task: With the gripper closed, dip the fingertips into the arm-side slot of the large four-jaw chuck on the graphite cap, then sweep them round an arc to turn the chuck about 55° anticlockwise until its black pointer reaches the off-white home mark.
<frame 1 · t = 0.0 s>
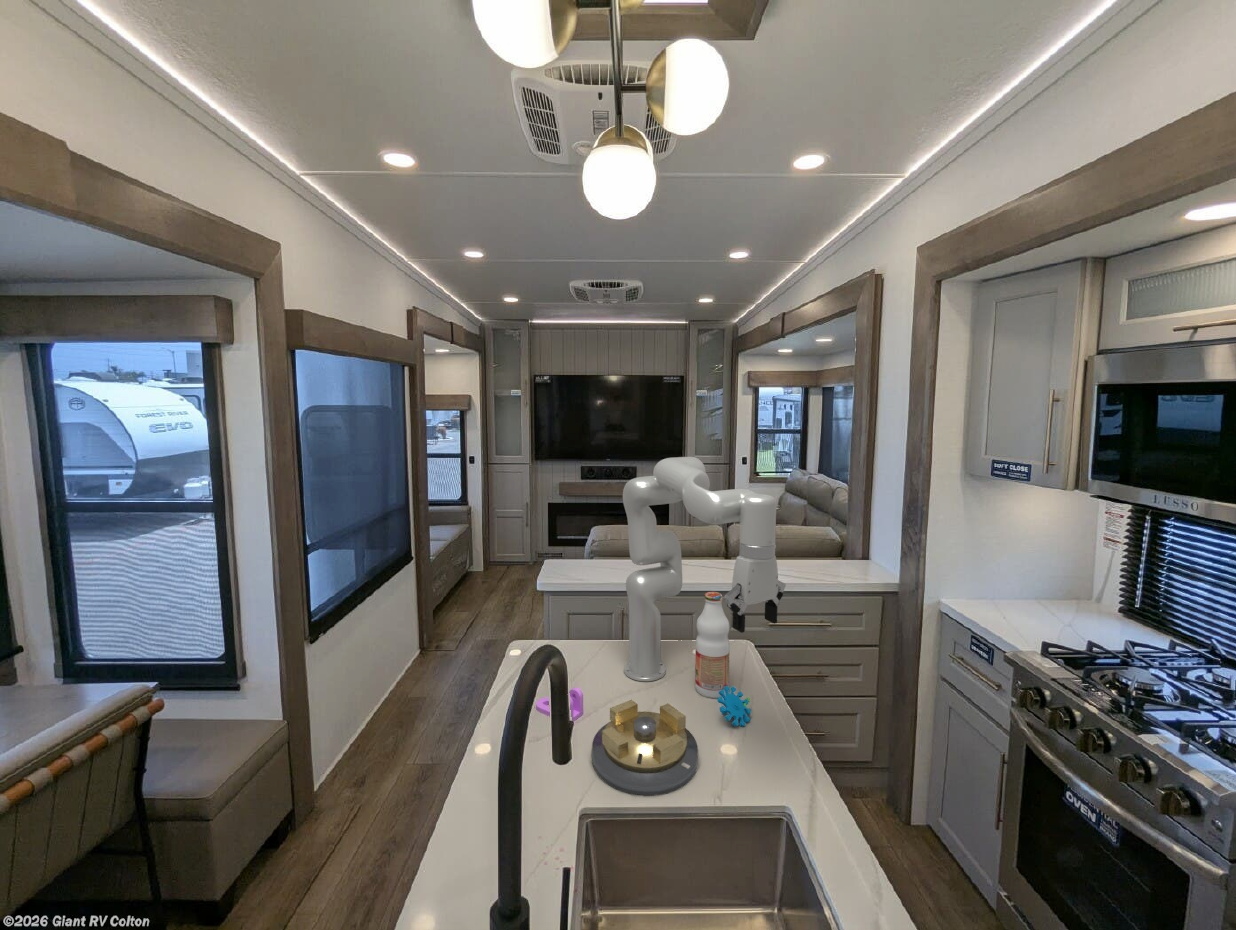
hand: (754, 625, 116), 31 cm above the worktop, tool pointing down, fingers open, 9 cm apart
fruit juice: (711, 690, 148), on the worktop
gear: (735, 719, 134), on the worktop
cap flange: (644, 757, 119), on the worktop
bracket: (557, 712, 137), on the worktop
four-jaw chuck: (644, 733, 119), point 6 cm above the worktop, hinge at 0.0°
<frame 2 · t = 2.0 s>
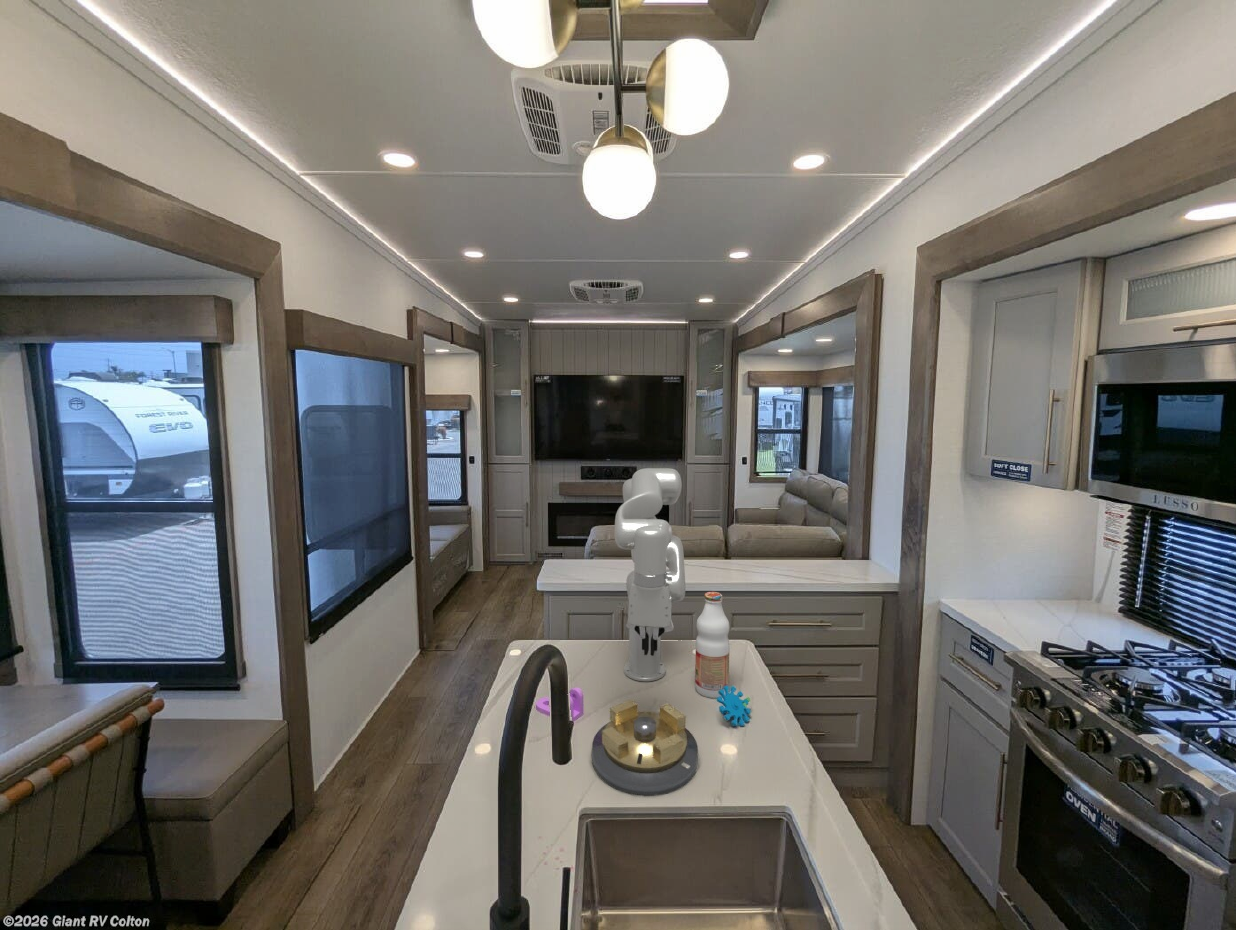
hand: (649, 652, 125), 21 cm above the worktop, tool pointing down, fingers closed
nothing on the worktop moved.
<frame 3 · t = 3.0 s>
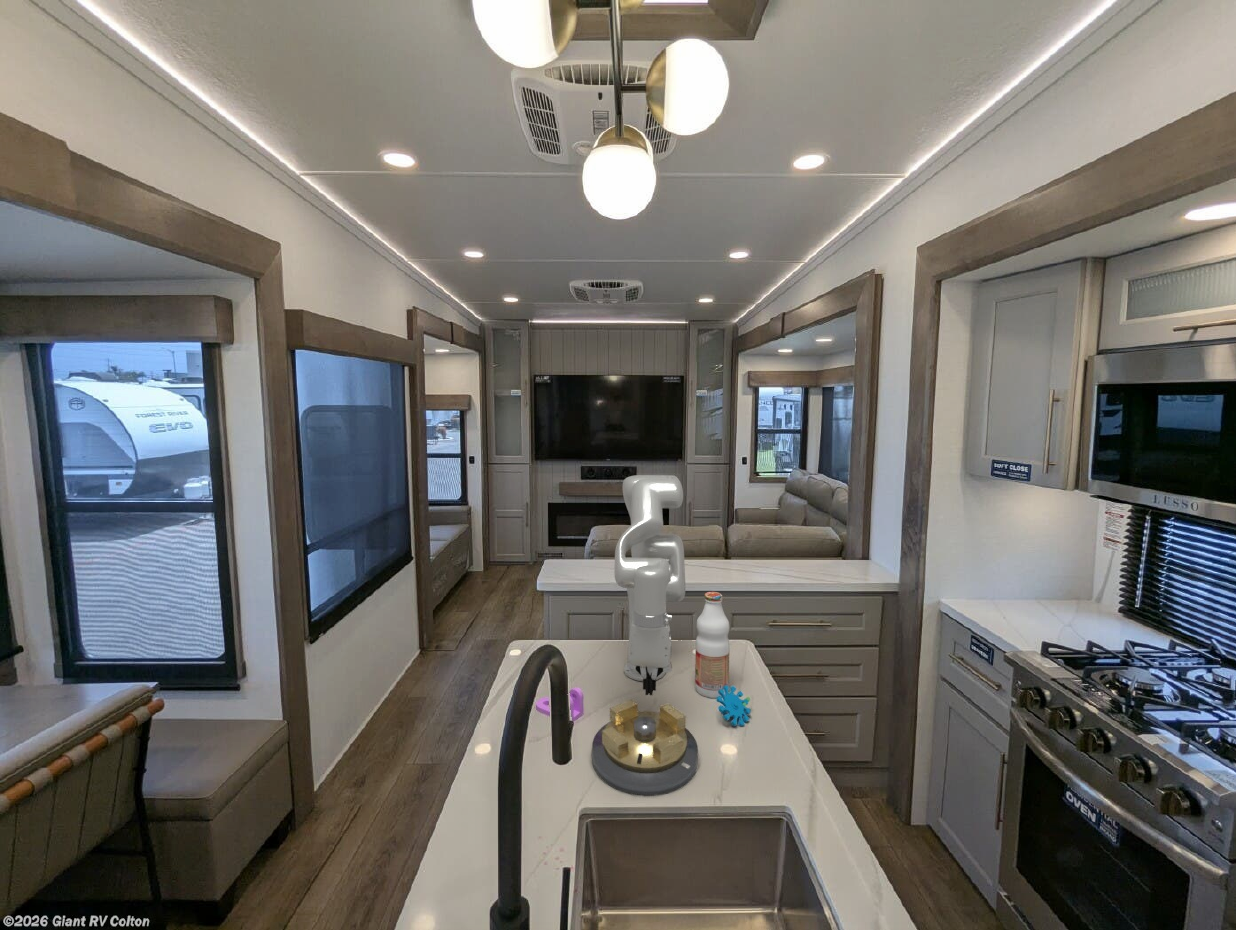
hand: (649, 692, 125), 11 cm above the worktop, tool pointing down, fingers closed
nothing on the worktop moved.
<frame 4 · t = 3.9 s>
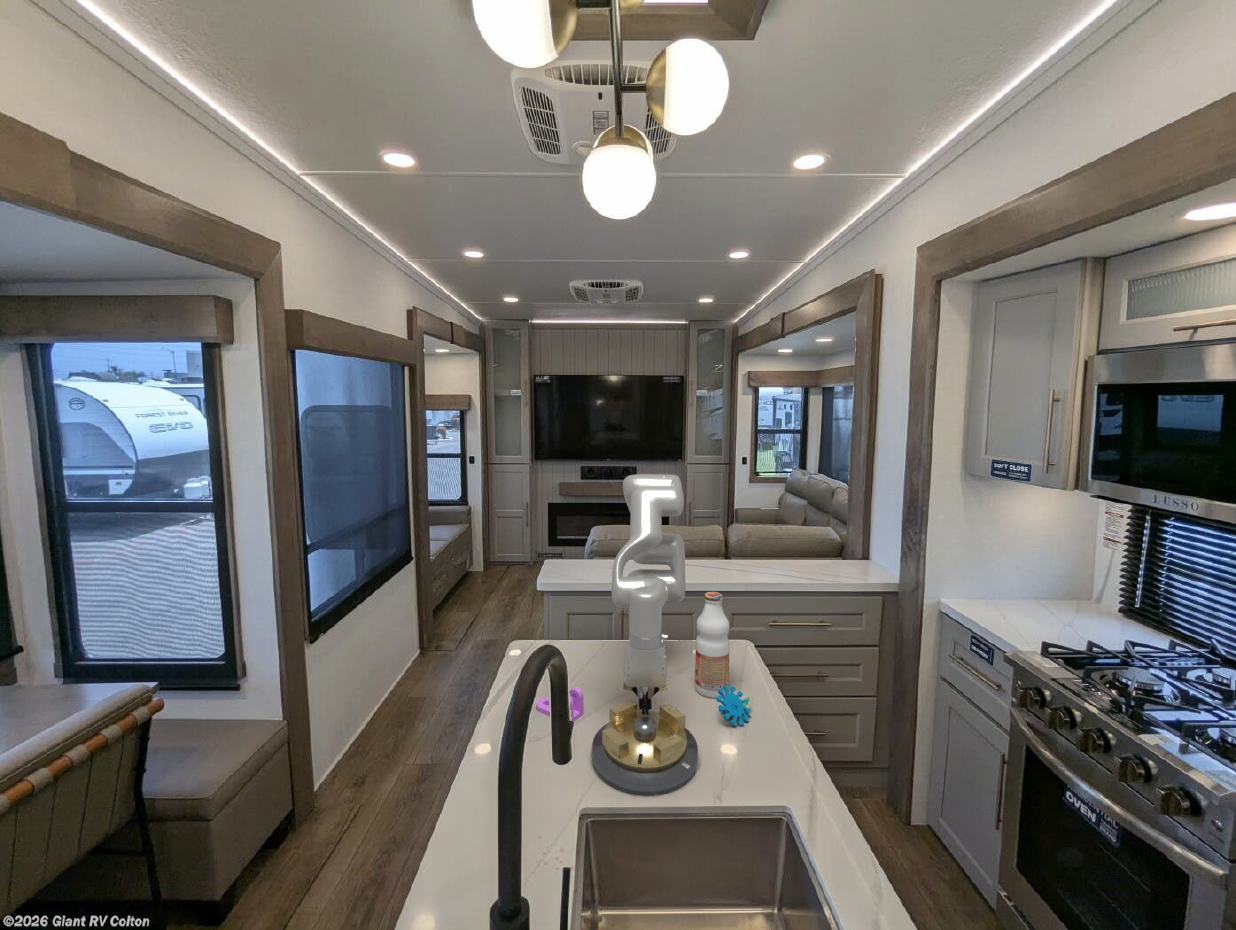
hand: (645, 711, 127), 6 cm above the worktop, tool pointing down, fingers closed
four-jaw chuck: (644, 733, 119), point 6 cm above the worktop, hinge at 0.7°, touching gripper
everything else where it was.
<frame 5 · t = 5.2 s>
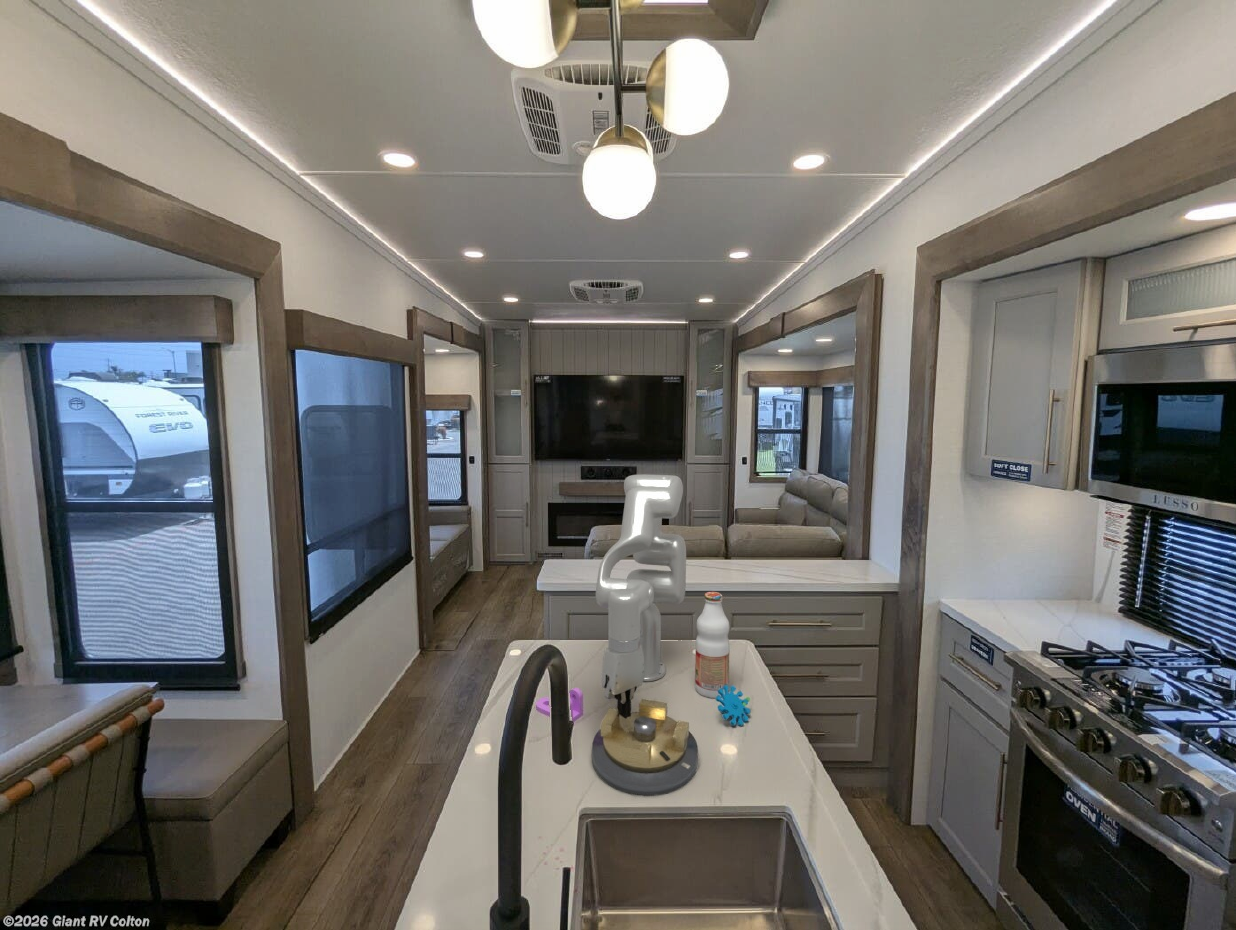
hand: (624, 714, 125), 6 cm above the worktop, tool pointing down, fingers closed
four-jaw chuck: (645, 733, 119), point 6 cm above the worktop, hinge at 38.3°, touching gripper
everything else where it was.
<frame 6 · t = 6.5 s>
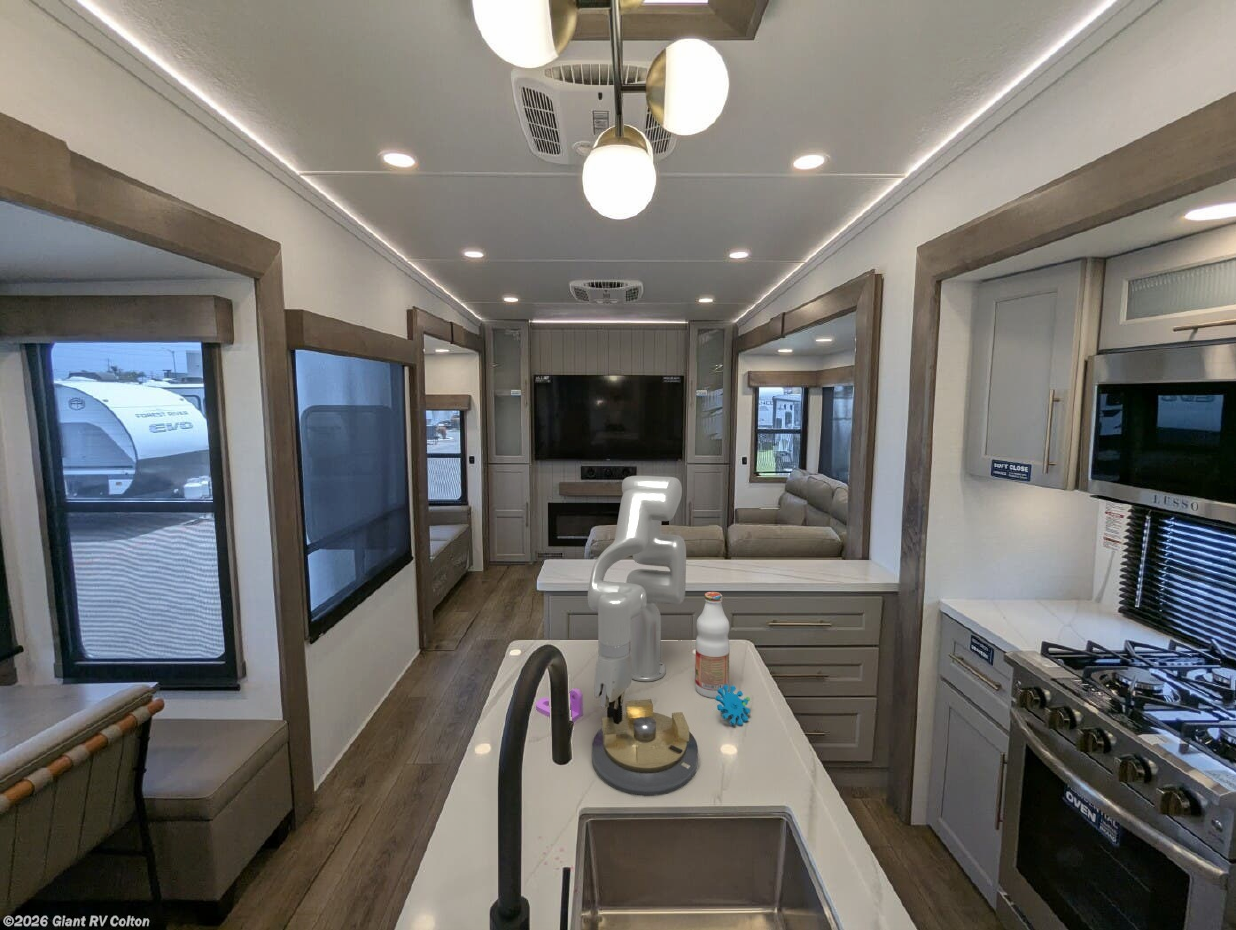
hand: (614, 720, 123), 6 cm above the worktop, tool pointing down, fingers closed
four-jaw chuck: (645, 733, 119), point 6 cm above the worktop, hinge at 62.1°, touching gripper
everything else where it was.
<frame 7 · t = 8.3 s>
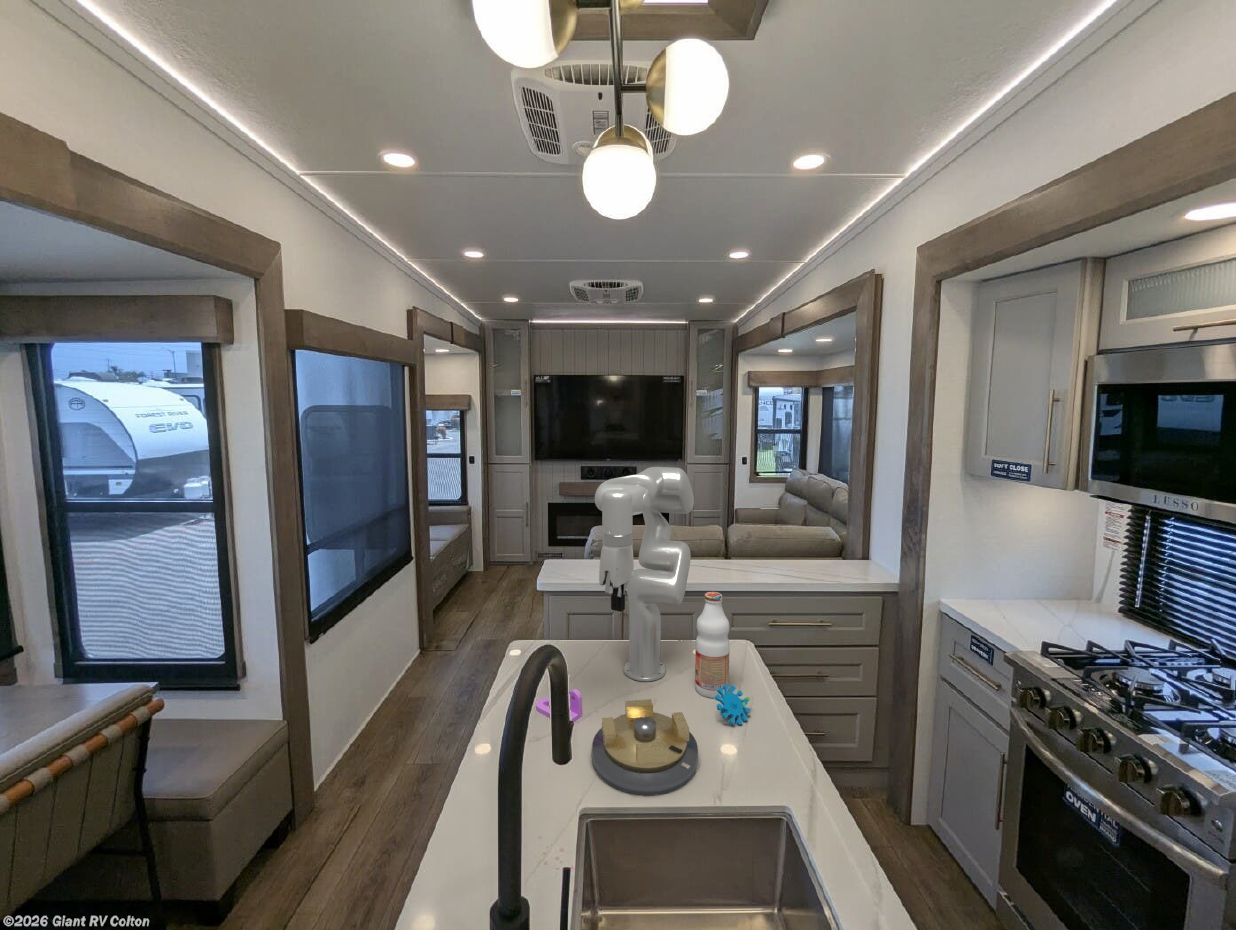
hand: (618, 609, 132), 29 cm above the worktop, tool pointing down, fingers closed
four-jaw chuck: (645, 733, 119), point 6 cm above the worktop, hinge at 62.2°
everything else where it was.
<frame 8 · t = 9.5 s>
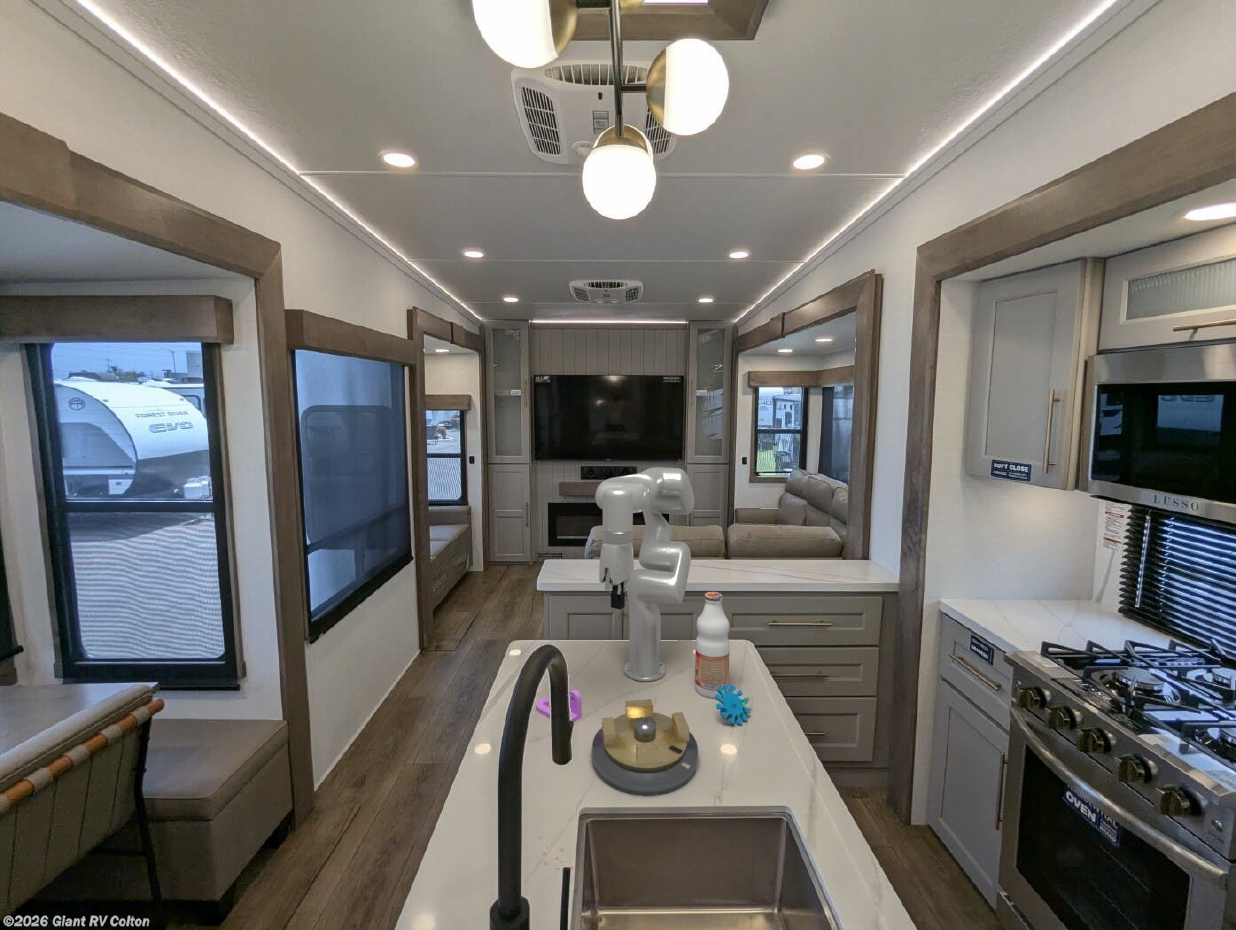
hand: (617, 607, 132), 29 cm above the worktop, tool pointing down, fingers closed
nothing on the worktop moved.
at the end: four-jaw chuck at +62° (first picture: +0°) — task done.
